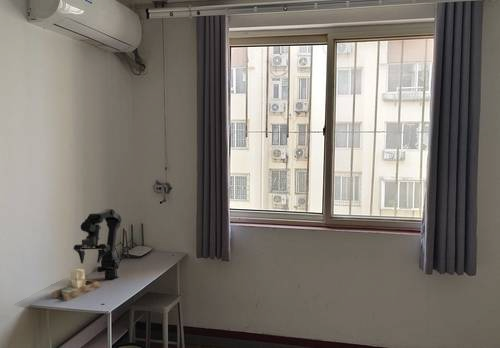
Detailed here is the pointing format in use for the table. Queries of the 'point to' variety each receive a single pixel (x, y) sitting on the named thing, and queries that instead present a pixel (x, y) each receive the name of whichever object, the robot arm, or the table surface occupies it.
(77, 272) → the maple block
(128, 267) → the table surface
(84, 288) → the trap deck
